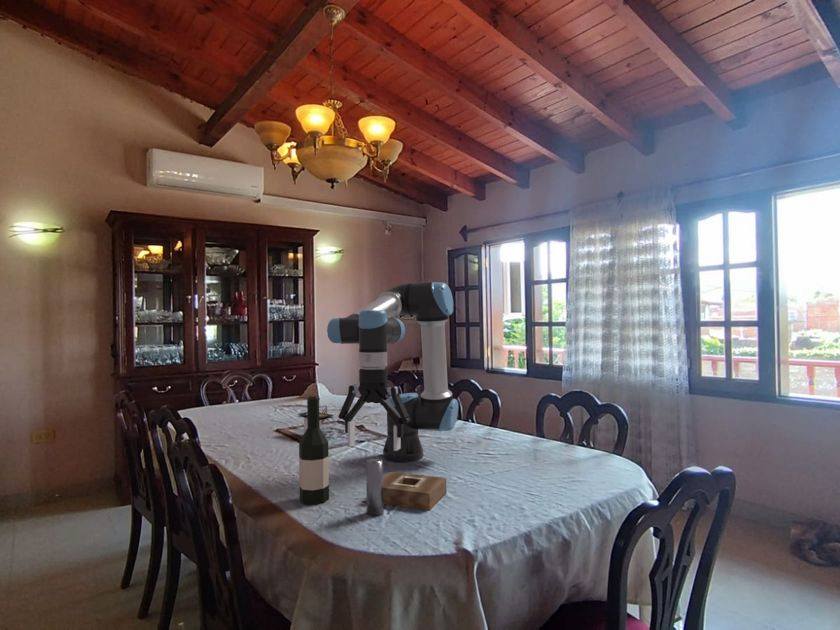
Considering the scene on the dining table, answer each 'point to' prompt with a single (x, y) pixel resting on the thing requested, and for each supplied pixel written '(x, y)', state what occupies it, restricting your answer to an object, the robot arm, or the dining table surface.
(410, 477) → the socket
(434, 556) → the dining table surface
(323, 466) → the wine bottle
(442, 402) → the robot arm
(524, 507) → the dining table surface
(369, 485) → the peg
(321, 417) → the architectural model
